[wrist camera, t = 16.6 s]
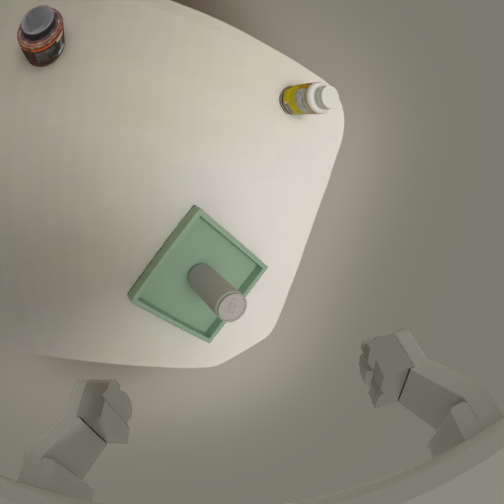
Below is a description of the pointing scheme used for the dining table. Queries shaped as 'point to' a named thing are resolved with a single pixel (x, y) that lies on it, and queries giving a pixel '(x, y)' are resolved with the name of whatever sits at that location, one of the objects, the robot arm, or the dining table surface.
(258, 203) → the dining table surface
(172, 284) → the green tray
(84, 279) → the dining table surface
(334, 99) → the supplement bottle
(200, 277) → the beverage can
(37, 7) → the supplement bottle
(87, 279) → the dining table surface
